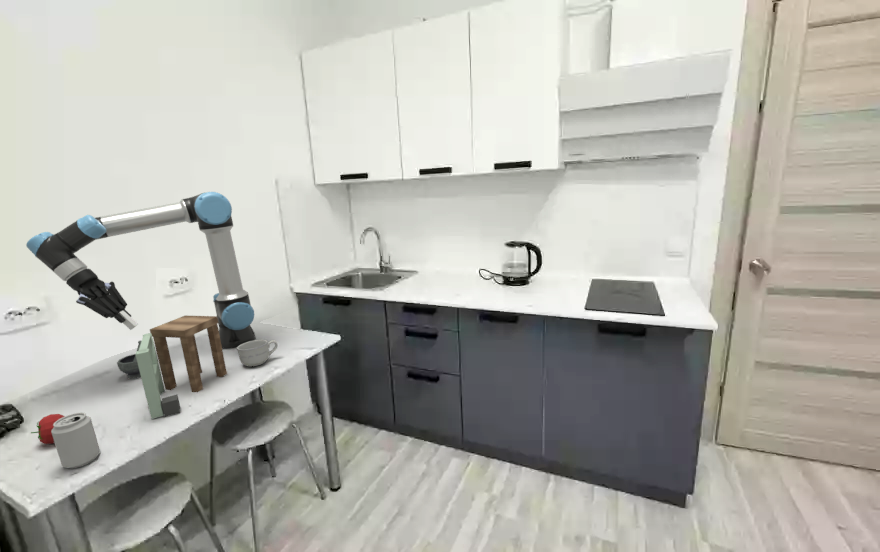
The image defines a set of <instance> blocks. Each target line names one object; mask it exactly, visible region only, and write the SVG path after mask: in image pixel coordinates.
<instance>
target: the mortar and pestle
mask: <svg viewBox="0 0 880 552" xmlns="http://www.w3.org/2000/svg"><path fill="white" fill-rule="evenodd" d="M141 341H142V340H138V342H137V343H138V346H137V348H136V351H139V348H140V345H141ZM135 354H136V353H134V354H130V355H126V356H123V357H122V358H120V359H118V360H117V362H116V364H117V367H118V369H119V371H120V372H122V373H123V374H126V378H127V379H129V380H135V379H139V378H141V375H140V371H139V367H138V363H137V359H136V355H135Z"/></svg>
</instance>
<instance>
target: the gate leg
mask: <svg viewBox="0 0 880 552" xmlns="http://www.w3.org/2000/svg"><path fill="white" fill-rule="evenodd" d="M140 341H141V345H140V348H139V351H137V350H136V351H135V353H134V354H135V355H136V359H137V363H138V367H139V371H140V375H141V377H140V378H141V383H142V386H143V390H144V395H145V398H146V402H147V407H148V409H149V415H150V418H151V420H152V419H156V418H160V417H164V413H163V409H162V404H161V403H162V397H161V394H164V393H166V390H165V386H164V382H163V377H162V373H161V369H160V365H159V360H158V356H157V352H156V348H155V343H154V339H153V337H152V334H151V333H145V334H142V338H141V340H140Z"/></svg>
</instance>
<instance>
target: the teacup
mask: <svg viewBox="0 0 880 552" xmlns="http://www.w3.org/2000/svg"><path fill="white" fill-rule="evenodd" d="M271 344H274V347H273V348H272V349H271V350H270V346H271ZM277 349H278V342H277V341H276V340H274V339H273V340H272V339H271V340H270V341H268V340H267V339H255V340H253V341H249V342H246V343H243V344H241V345H239V346H238V347H236V350H237V354H238V357H239V361H240V363H241V364H242V365H245V366H247V367H252V366H253V367H258V366H260V365H262V364H264V363H266V361H267V360H268V359H269V358H270V357H271V356H272V354H273V353H274V352H275V351H276V350H277Z"/></svg>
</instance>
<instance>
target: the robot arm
mask: <svg viewBox="0 0 880 552" xmlns="http://www.w3.org/2000/svg"><path fill="white" fill-rule="evenodd" d="M232 212H233V208H232V204H231V202H230V201H229V199H228V198H227V197H226V196H225V195H223V194H221V193H219V192H216V191H207V192H202V193H200V194H197V195H194V196H191V197H186V198H182V199H181V200H180V201H179V202H174V203H170V204H163V205H157V206H153V207H147V208H142V209H141V208H140V209H137V210H136V209H135V210H130V211H124V212H118V213H113V214H108V215H102V216H97V217H95V216H93V215H91V214H87V215H84V216H82V217H80V218H78V219H77V220H76V221H74V222H72V223H71V224H69V225H67V226H66V227H65V228H63V229H61V230H60V231H58V232H57V233H54V234H53V233H51V232H50V231H44V232H41V233H39V234H36V235H34V236H32V237H30V239H29V240H27V242H26V244H25V245H26V248H27V249H28V250H29V251H30V253H32V254H33V255H34V256H35V258H37V259H38V260H40V262H42V264H44V265H45V266H46V267H47V268H48V269H50V270H51V271H52V272H53V273H54V274H55V275H57V276H58V278H60V279H61V280H62V281H63V282H66V285H68V287H70V288H71V289H72V290H73V291H74V292H75V291H76V292H77V294H78V296H79V297H78V298H77V299H76V300H75V303H76V304H79V305H82V306H85V307H86V308H88V309H90V310H91V311H93V312H95V313H96V314H99V315H100V316H102V317H103V318H105V319H108V318H110V319H113V318H114V319H115V320H116V321H118V323H120V324H123V325H124V326H125V327H127V329H129V331H131V330H133V329H135V328H136V327H137V326H138V325H139V323H137V320H134V319H133V317H132V314H131V313H129V312H128V311H127V310H126V307H127V306H128V303H127V301H126V300H125V299H124V298H123V295H121V293H120V292H119V291H118V289H117V288H116V284H115V282H114V281H110V282H105V281H103V280H101V279H100V278H99V277H98V274H96V273H95V272H94V271H93V270H92V269H91V268H88V265H86V264H85V263H84V262H83V261H82V260H81V259H80V258H79V257H78V256H77V255H76V254H75V253H77V252H78V251H79V250H81V249H83V248H85V247H86V246H89V244H91V243H93V242H94V241H96V240H100V239H105V238H106V239H107V238H109V237H114V236H120V235H125V234H130V233H135V232H139V231H140V232H141V231H146V230H151V229H155V228H160V227H165V226H171V225H174V224H175V225H176V224H180V223H185V222H186V223H188V224H193V223H197V225H198V229H199V231H201V232H202V233H203V234H204V235H205V238H206V242H207V243H206V244H207V246H208V251H209V257H210V260H211V264H212V268H213V272H214V277H215V280H216V285H217V290H218V293H215V294H214V295H213V296H212V297H213V301H212V302H213V303H214V308H215V314H216V316H217V318H218V324H217V325H218V330H219V335H220V340H221V346H222V349H235V348H236V349H237V347H238V346H239V345H241V344H243V343H246V342H249V341H253V340H257V337H256V333H255V331H254V328H252V326H251V324H252V323H253V321H254V319H255V310H254V308H253V306H252V305H251V299H250V296H249V292H248V291H246V290H245V289H244V288H243V283H242V279H241V273H240V269H239V265H238V260H237V257H236V251H235V246H234V242H233V238H232V233H231V230H232V228H233V227H234V221H233V216H232Z"/></svg>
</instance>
